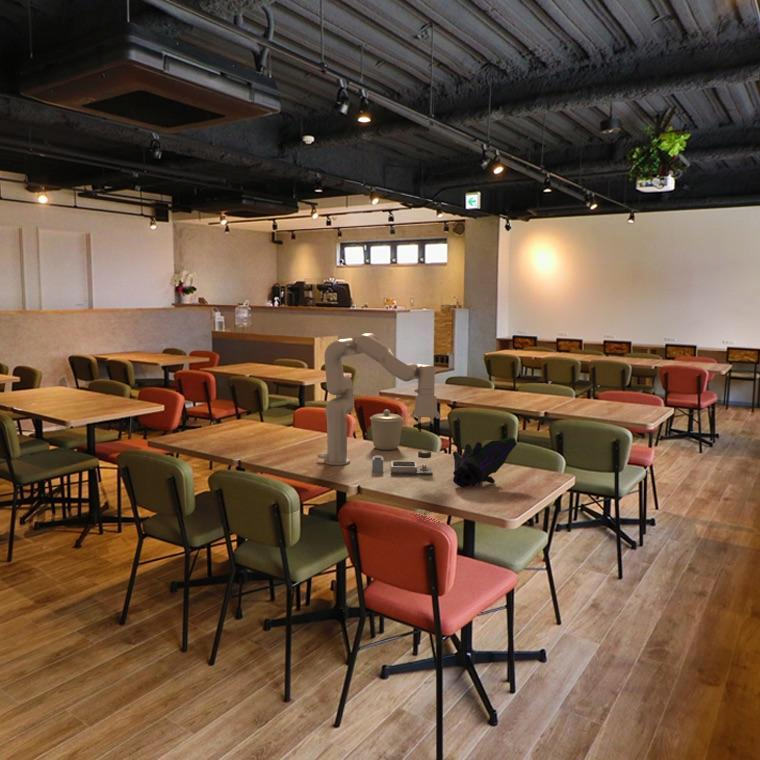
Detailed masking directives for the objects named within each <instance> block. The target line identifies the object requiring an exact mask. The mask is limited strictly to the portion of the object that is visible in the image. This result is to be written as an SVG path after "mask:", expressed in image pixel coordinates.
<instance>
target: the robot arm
mask: <svg viewBox="0 0 760 760" xmlns="http://www.w3.org/2000/svg"><path fill="white" fill-rule="evenodd" d="M379 339H380V338H379V337H378V336H377V335H376V334H374V333H370V332H368V333H363V334H359V336H354V337H349V338H341V339H337V340H333V342H331V343H329V344H328V346H327V347H326V348H325V351H324V355H323V356H324V358H323V359H324V367H325V368H324V369H325V382H326V383H325V384H326V390H327V392H328V393H329V394H330V395H331V396H335V397H334V398H332V399H330V400H329V401H328V402H327V404H326V406H325V416H326V424H327V425H326V427H327V429H326V430H327V431H326V432H327V435H326V436H327V439H326V444H327V446H326V447H327V448H326V449H327V450H326V452H324V453H318V454H317V458H320V459H323V463H324V464H326V465H330V466H344V465H348V464H350V463H351V459H350V458H348V457H347V455H348V424H347V423H348V422H347V415H349V414H350V413H352V412H353V410H354V408H355V398H354V384H353V380H352V379H351V377H350V376H349V375H348V374H346V373H344V365H343V362H342V358H346V357H351V356H355V355H360V354H364V355H366V356H367V357H369V358H370V359H372V360H373V361H375V362H377V363H378V364H380V365H381V366H382V367H383V369H385V370H386V371H387V372H388V373H389V374H391V375H392V376H394V377H396V378H398V380H401V381H403V382H410V381H414V380H417V388H416V389H414V393H415V395H416V396H415V401H414V409H413V411H412V412H411V413H410V418H412V419H413V420H414V421H416V423H417V430H418V433H421V432H422V422H421V420H422V418H429V420H430V421H429V426H428V431H429V433H432V431H433V429H434V427H433V426H434V423H435V422H436V421H437V420H438V419H440V418H441V417H442V416H441V414H440V412H439V410H438V402H437V401H438V399H437V395H436V394H435V384H436V383H435V381H436V380H435V379H436V377H435V376H436V367H435V366H434V365H432V364H418V363H407V364H406V363H405V362H403V361H401V360H400V359H399V358H397V357H396V356H395V354H393V352H392V351H393V350H392V349H391V348H390V347H389V346H387V345H386V344H384V343H382V342H381V341H380V340H379Z"/></svg>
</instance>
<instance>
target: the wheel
mask: <svg viewBox="0 0 760 760" xmlns="http://www.w3.org/2000/svg"><path fill="white" fill-rule="evenodd" d="M417 456H418V458H420V459H431V458H432V451H428V450H419V451H418V452H417Z"/></svg>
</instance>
